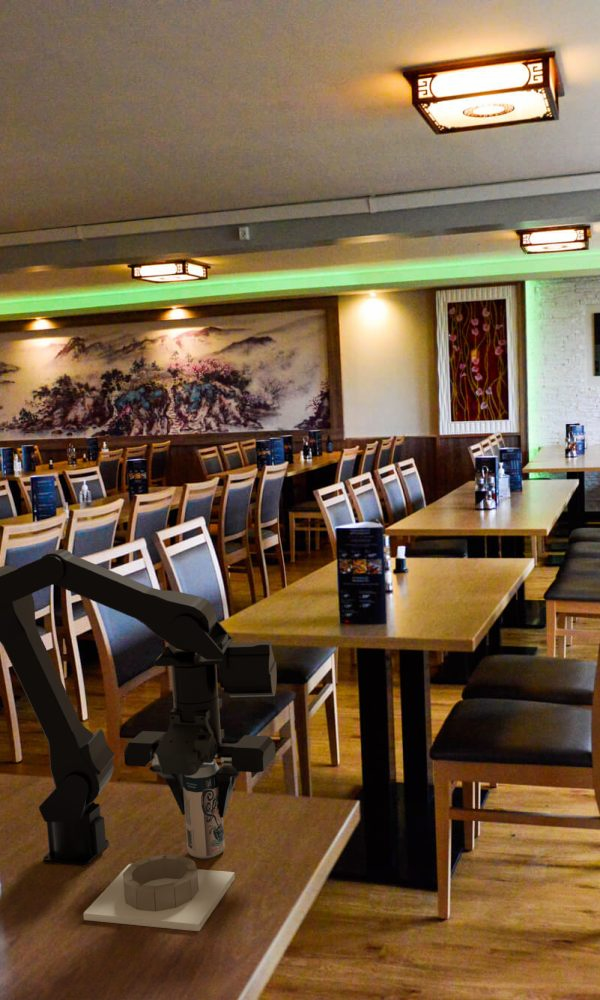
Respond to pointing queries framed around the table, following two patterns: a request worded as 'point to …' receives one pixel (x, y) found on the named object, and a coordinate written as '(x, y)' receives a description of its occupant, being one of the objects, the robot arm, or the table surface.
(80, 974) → the table surface
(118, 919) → the socket board
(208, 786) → the beer can
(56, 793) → the robot arm
